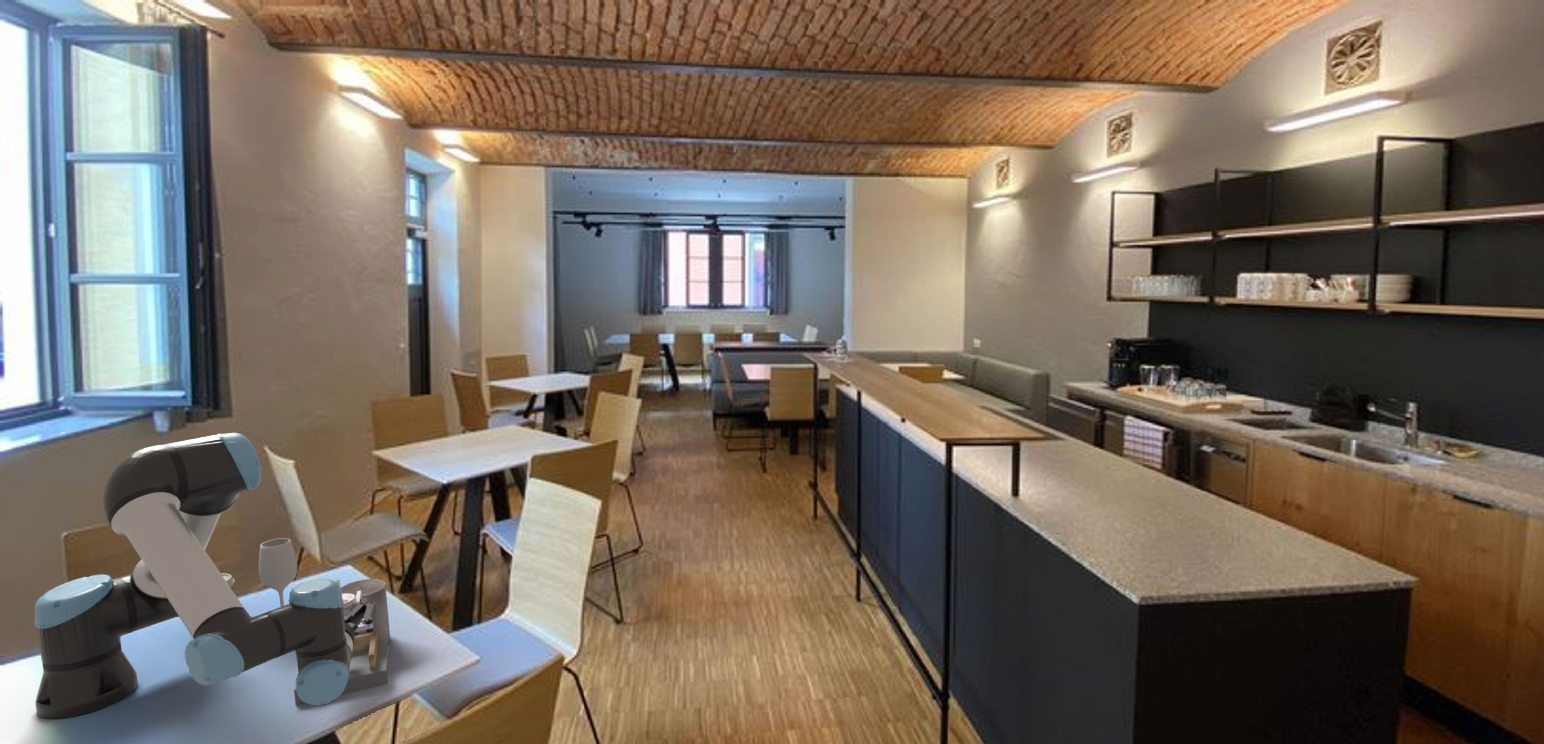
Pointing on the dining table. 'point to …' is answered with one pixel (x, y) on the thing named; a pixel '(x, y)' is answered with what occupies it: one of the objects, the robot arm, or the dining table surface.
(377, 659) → the dock
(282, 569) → the wineglass
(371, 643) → the bay walls
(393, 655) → the dining table surface
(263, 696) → the dining table surface
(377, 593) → the pillar candle
